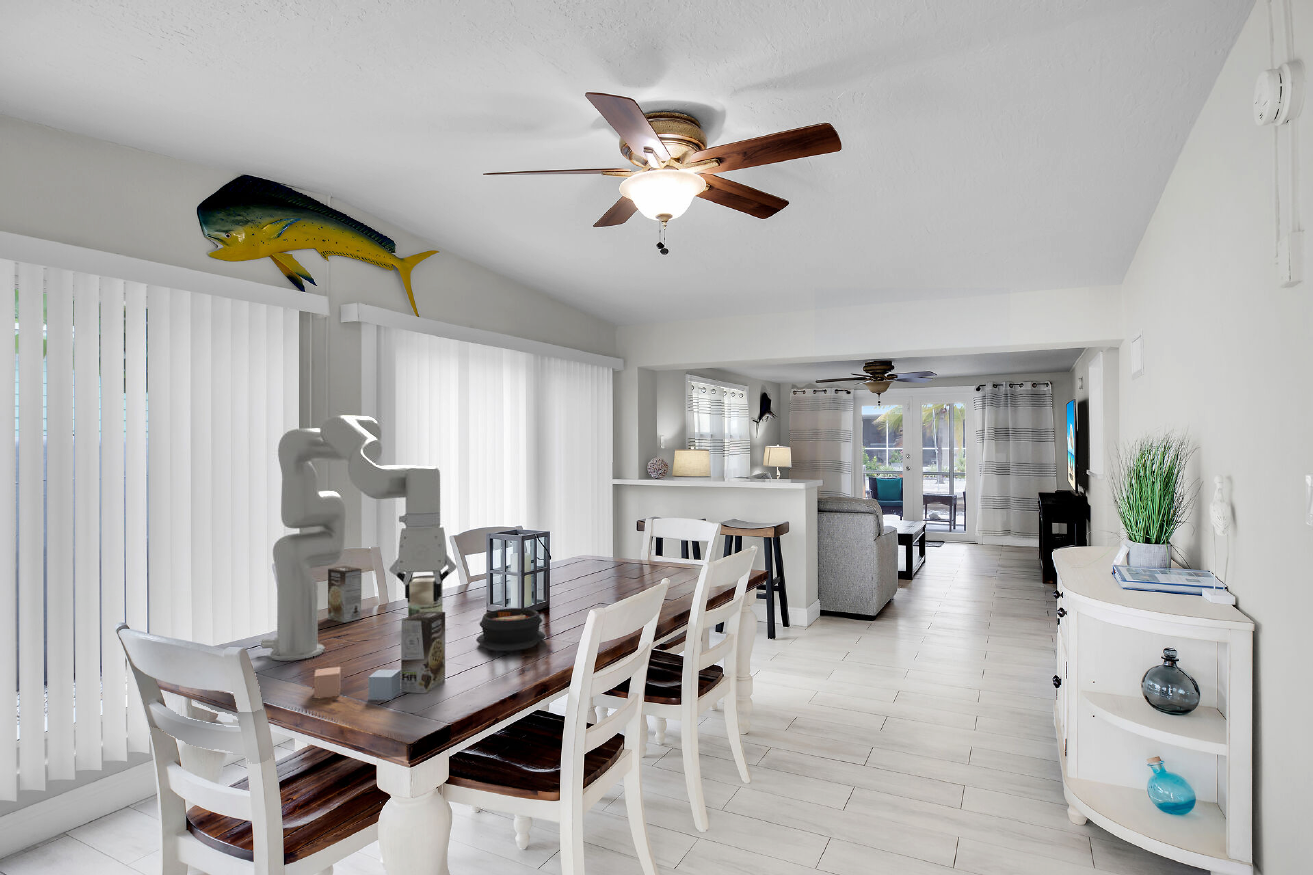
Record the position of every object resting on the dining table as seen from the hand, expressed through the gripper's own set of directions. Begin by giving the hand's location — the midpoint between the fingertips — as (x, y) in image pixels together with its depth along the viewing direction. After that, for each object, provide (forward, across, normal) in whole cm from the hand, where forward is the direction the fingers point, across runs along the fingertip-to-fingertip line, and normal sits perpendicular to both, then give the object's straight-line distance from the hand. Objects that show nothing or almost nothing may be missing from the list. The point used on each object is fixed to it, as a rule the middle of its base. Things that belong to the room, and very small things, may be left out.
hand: (423, 600), depth 160 cm
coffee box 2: (+20, 0, 0) cm, 20 cm away
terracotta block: (+20, -20, -2) cm, 28 cm away
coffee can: (+20, -11, +58) cm, 62 cm away
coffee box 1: (+19, -38, +68) cm, 81 cm away
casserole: (+20, +17, +32) cm, 41 cm away
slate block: (+20, -7, -5) cm, 21 cm away
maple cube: (+1, 0, 0) cm, 1 cm away
